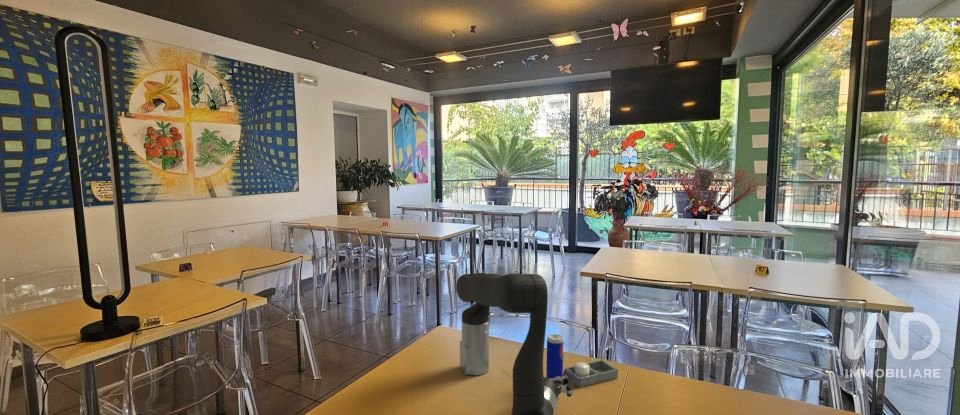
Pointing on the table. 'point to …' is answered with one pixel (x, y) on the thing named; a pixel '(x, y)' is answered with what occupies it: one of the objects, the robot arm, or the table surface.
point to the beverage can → (554, 356)
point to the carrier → (594, 373)
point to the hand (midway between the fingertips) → (550, 371)
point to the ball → (582, 369)
